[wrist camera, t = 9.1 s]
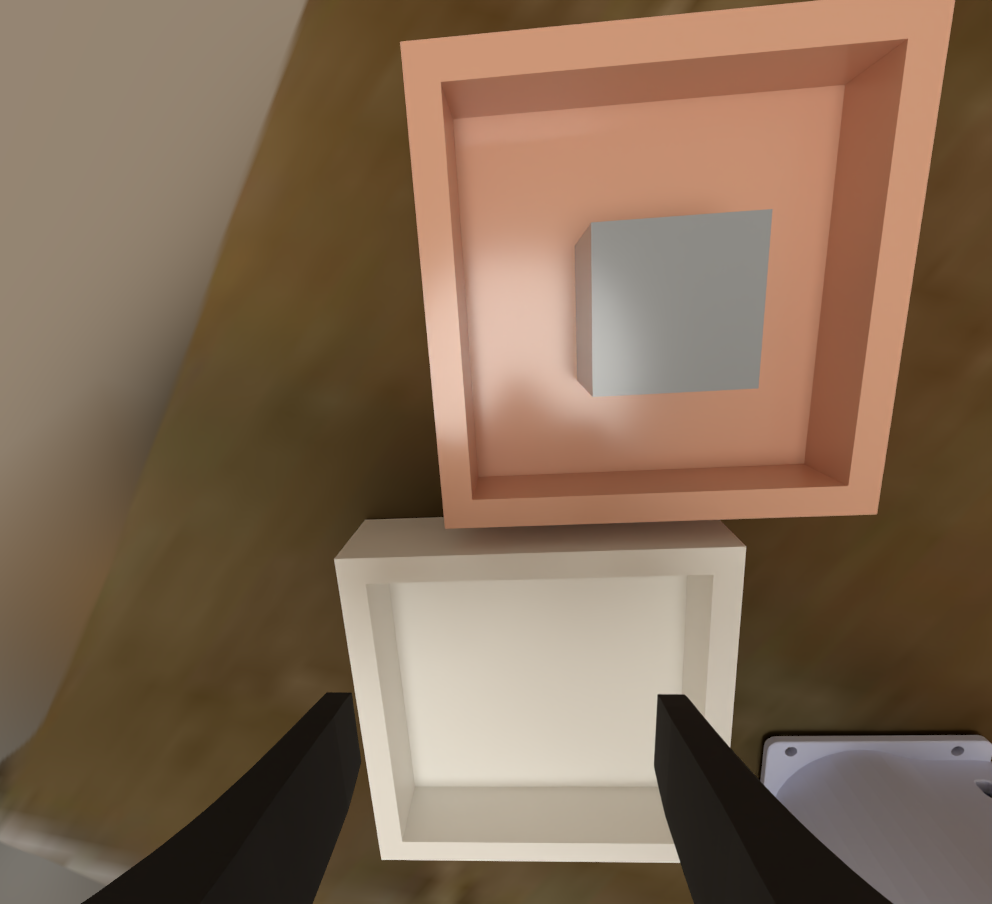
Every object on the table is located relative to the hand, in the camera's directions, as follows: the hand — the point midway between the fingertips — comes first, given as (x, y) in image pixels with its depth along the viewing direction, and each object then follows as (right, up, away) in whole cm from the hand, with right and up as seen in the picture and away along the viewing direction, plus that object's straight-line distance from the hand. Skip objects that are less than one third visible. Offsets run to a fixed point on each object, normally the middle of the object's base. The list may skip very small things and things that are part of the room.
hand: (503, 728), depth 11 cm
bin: (+5, +12, +6) cm, 14 cm away
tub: (+2, -3, +10) cm, 11 cm away
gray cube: (+5, +11, +5) cm, 13 cm away
